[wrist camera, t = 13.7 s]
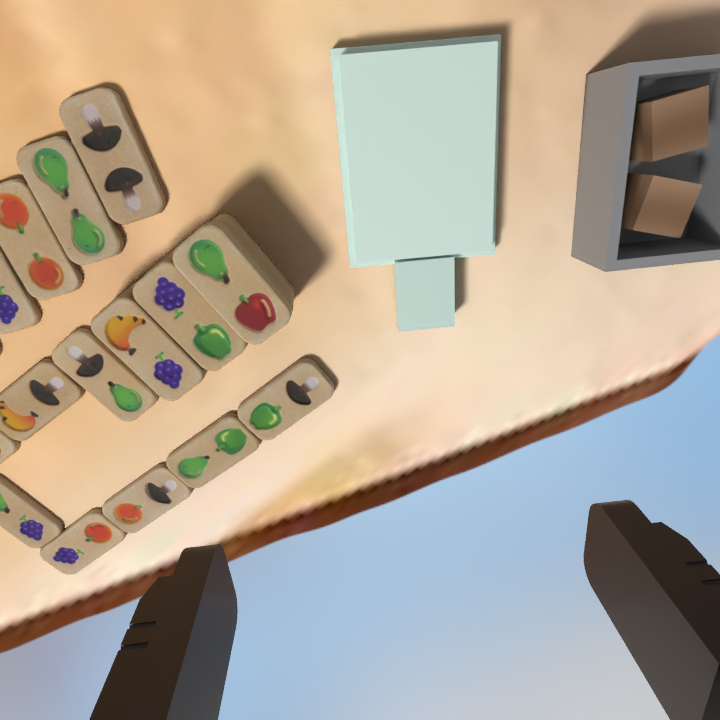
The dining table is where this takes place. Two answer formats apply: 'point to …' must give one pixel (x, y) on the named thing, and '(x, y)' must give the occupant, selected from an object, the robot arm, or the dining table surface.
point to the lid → (419, 163)
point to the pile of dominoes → (131, 324)
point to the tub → (643, 167)
